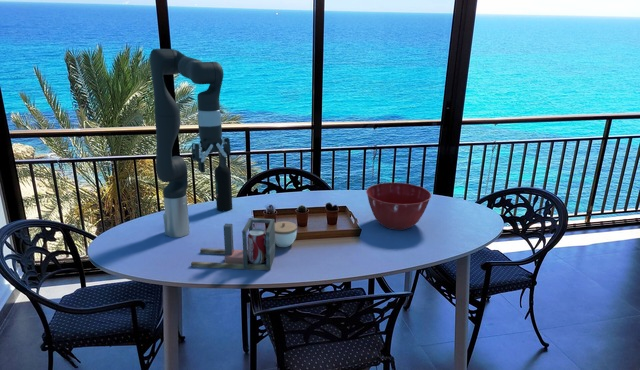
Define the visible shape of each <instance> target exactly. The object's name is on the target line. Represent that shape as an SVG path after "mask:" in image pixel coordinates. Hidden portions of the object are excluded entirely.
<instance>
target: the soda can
mask: <svg viewBox="0 0 640 370" xmlns="http://www.w3.org/2000/svg"><path fill="white" fill-rule="evenodd" d="M247 250H248V259H249V260H248V262H249V263H250V264H259V265H263V263H265V262H267V258H266V232H265V230H264V229H261V228H253V230H250V231H249V230H248V234H247Z"/></svg>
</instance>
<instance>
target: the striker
mask: <svg viewBox="0 0 640 370" xmlns="http://www.w3.org/2000/svg"><path fill="white" fill-rule="evenodd" d="M233 233H234V232H233V223H224V225H223V239H224V240H223V241H224V242H223V243H224V249H225V254H224V263H236V264H244V261H243V249H234V234H233ZM247 259H248V249H247ZM248 261H249V259H248Z"/></svg>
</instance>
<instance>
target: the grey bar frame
mask: <svg viewBox="0 0 640 370" xmlns="http://www.w3.org/2000/svg"><path fill="white" fill-rule="evenodd" d="M275 221H276V220H275V218H256V217H254V218H253V217H252V218H251V217H250V218H248V220H247V222H246V224H245V226H244V227H243V229H242V231H241V234H242V250H243V261H244V264H236V263H225V262H212V261H211V262H210V261H191V262H190V267H192V268H207V269H208V268H211V269H212V268H213V269H228V270H229V269H233V270H256V271H271V269H272V265H273V264H274V263H273V262H274V261H275V260H274V259H275V257H276V244H275V223H276V222H275ZM255 223H256V224H268V227H267V228H266V232H265V234H266V258H267V260H266V264H253V263H248V262H249V260H248V259H247V250H248V243H247V237H248V234H247V233H248V232H249V231H250V230H253V229H254V226H253V225H254V224H255ZM199 251H200V252H199V253H200V254H209V255H225V248H222V249H221V248H204V247H201V248H200V250H199Z"/></svg>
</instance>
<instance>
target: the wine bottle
mask: <svg viewBox="0 0 640 370" xmlns="http://www.w3.org/2000/svg"><path fill="white" fill-rule="evenodd" d="M222 149H223V147H222ZM223 150H224V149H223ZM218 163H219V164H218V166H217V167H215V169H214V184H215V185H214V186H215V187H214V188H215V200H216V211H218V212H229V211H232V210H233V193H232V189H233V188H232V173H231V172H232V171H231V169H230V167H229V166H227V165H226V167H224V168H222V167H220V155H219V154H218Z"/></svg>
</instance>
